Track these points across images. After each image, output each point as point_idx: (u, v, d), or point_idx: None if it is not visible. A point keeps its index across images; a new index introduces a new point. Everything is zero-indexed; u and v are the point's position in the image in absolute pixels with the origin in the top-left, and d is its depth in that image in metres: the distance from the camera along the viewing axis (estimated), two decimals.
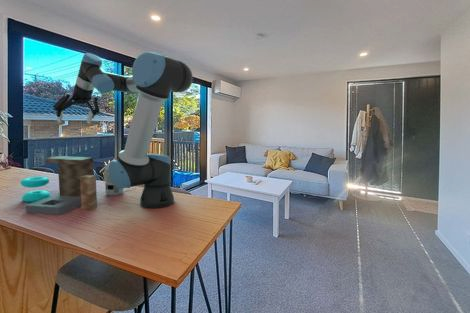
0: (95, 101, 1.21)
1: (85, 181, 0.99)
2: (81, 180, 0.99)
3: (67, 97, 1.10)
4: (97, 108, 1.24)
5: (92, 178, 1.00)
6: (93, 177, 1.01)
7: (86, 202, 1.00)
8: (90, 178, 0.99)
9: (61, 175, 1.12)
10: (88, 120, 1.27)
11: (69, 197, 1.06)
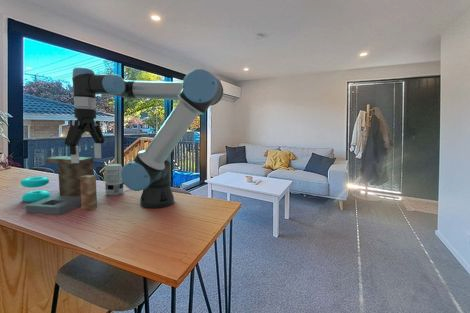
0: (98, 126, 1.04)
1: (85, 181, 0.99)
2: (81, 180, 0.99)
3: (77, 124, 0.91)
4: (102, 135, 1.06)
5: (92, 178, 1.00)
6: (93, 177, 1.01)
7: (86, 202, 1.00)
8: (90, 178, 0.99)
9: (61, 175, 1.12)
10: (98, 154, 1.06)
11: (69, 197, 1.06)
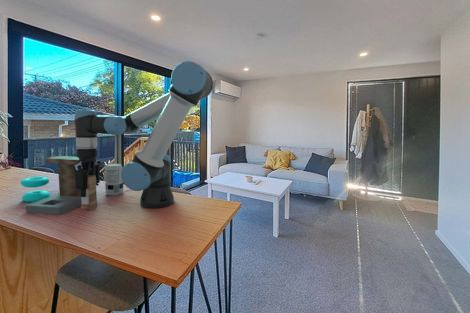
0: (98, 165, 1.05)
1: None
2: None
3: (80, 169, 0.94)
4: (98, 176, 1.05)
5: (92, 178, 1.00)
6: (93, 177, 1.01)
7: None
8: (90, 178, 0.99)
9: (61, 175, 1.12)
10: None
11: (69, 197, 1.06)
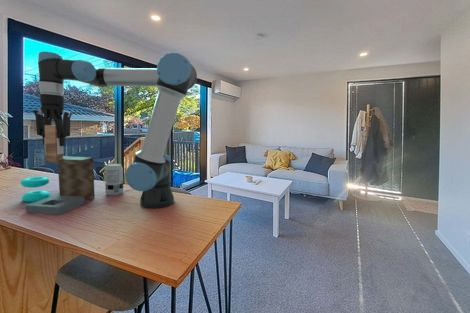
0: (64, 117, 0.94)
1: None
2: None
3: (35, 113, 0.93)
4: (64, 128, 0.94)
5: (48, 126, 0.93)
6: (50, 126, 0.93)
7: None
8: (46, 126, 0.93)
9: (61, 175, 1.12)
10: None
11: (69, 197, 1.06)
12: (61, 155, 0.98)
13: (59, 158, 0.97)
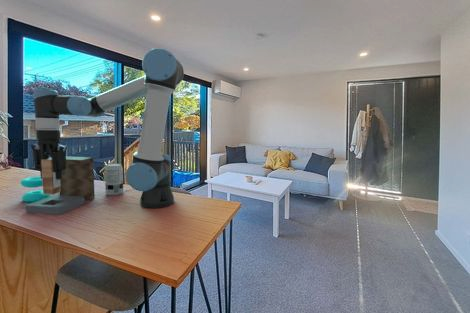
0: (59, 151, 0.94)
1: None
2: None
3: (33, 148, 0.95)
4: (59, 162, 0.95)
5: (45, 161, 0.95)
6: (47, 161, 0.94)
7: None
8: (42, 161, 0.95)
9: (61, 175, 1.12)
10: None
11: (69, 197, 1.06)
12: (58, 188, 0.99)
13: (56, 191, 0.98)
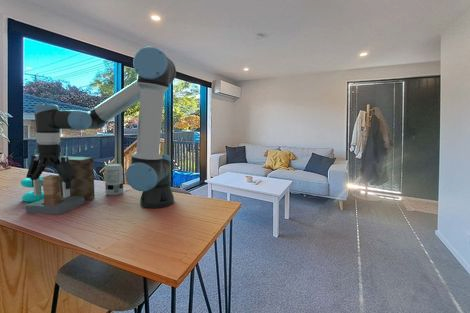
0: (62, 162, 0.95)
1: None
2: None
3: (32, 159, 0.96)
4: (67, 173, 0.95)
5: (46, 179, 0.95)
6: (48, 178, 0.95)
7: None
8: (44, 178, 0.96)
9: None
10: None
11: (69, 197, 1.06)
12: None
13: None
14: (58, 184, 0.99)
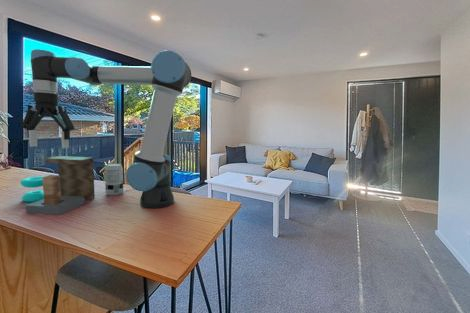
0: (59, 111, 0.92)
1: None
2: None
3: (28, 108, 0.93)
4: (65, 122, 0.93)
5: (46, 179, 0.95)
6: (48, 178, 0.95)
7: None
8: (44, 178, 0.96)
9: (61, 175, 1.12)
10: None
11: (69, 197, 1.06)
12: None
13: None
14: (58, 184, 0.99)
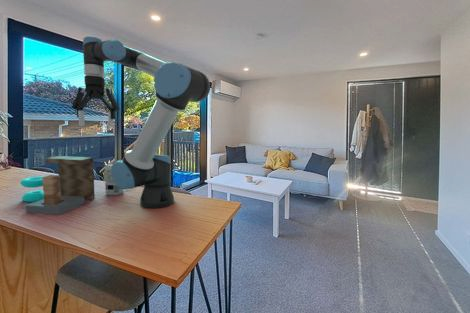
0: (107, 93, 1.02)
1: None
2: None
3: (79, 90, 1.03)
4: (112, 103, 1.02)
5: (46, 179, 0.95)
6: (48, 178, 0.95)
7: None
8: (44, 178, 0.96)
9: (61, 175, 1.12)
10: None
11: (69, 197, 1.06)
12: None
13: None
14: (58, 184, 0.99)
